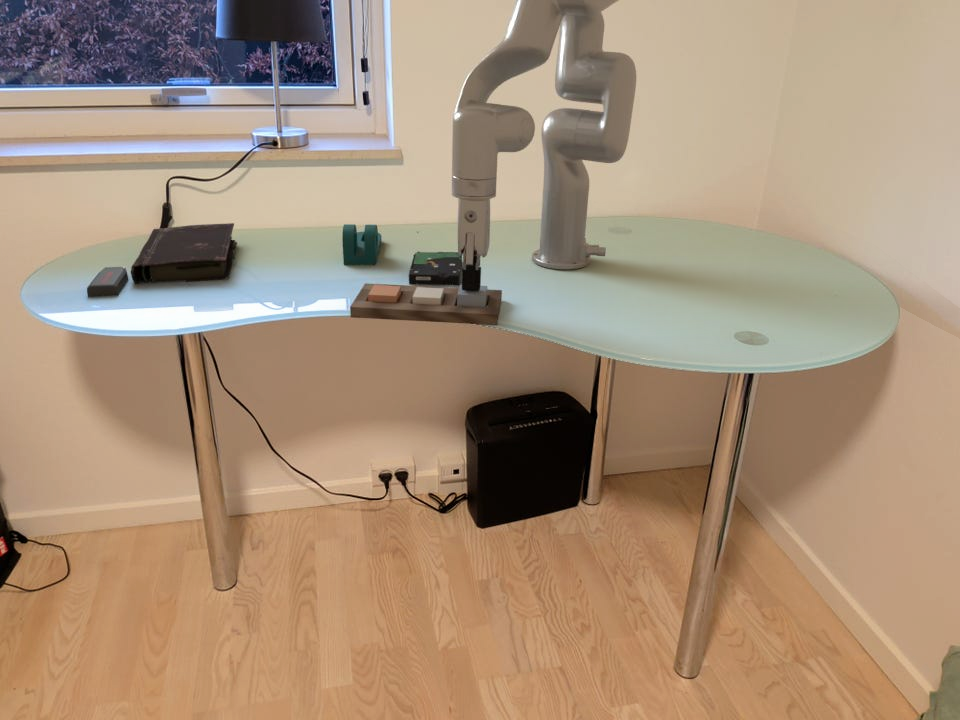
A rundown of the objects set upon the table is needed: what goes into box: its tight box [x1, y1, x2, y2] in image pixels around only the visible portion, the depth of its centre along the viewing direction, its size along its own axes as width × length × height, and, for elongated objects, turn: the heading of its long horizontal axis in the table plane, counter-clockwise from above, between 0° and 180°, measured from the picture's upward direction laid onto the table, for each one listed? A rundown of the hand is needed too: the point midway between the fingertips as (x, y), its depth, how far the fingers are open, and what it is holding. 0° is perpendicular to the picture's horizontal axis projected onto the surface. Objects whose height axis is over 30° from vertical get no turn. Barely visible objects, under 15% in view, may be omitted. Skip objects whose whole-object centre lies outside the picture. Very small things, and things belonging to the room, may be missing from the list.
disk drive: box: [408, 251, 463, 286], centre depth 154 cm, size 10×3×15 cm
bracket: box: [341, 223, 383, 266], centre depth 164 cm, size 18×7×8 cm, turn 2°
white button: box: [412, 287, 444, 305], centre depth 136 cm, size 5×5×3 cm
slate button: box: [457, 284, 488, 307], centre depth 135 cm, size 5×5×3 cm
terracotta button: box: [368, 285, 401, 303], centre depth 137 cm, size 5×5×3 cm
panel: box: [349, 282, 503, 326], centre depth 136 cm, size 26×12×2 cm, turn 85°
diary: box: [130, 222, 238, 286], centre depth 156 cm, size 19×25×5 cm
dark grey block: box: [86, 266, 129, 298], centre depth 144 cm, size 5×12×3 cm, turn 11°
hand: (471, 289), depth 134 cm, fingers closed
